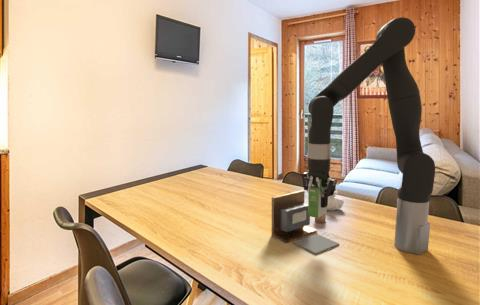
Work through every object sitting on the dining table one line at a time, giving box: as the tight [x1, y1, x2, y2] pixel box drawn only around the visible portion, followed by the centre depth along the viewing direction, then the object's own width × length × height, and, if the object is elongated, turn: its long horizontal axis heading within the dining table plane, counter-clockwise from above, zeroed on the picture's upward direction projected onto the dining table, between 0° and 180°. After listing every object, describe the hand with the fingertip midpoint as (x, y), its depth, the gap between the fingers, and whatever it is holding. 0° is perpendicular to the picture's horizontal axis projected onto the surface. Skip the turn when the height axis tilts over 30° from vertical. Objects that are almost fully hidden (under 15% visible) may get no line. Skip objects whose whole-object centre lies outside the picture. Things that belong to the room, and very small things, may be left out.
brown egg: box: [314, 213, 327, 224], centre depth 127 cm, size 4×4×5 cm
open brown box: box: [271, 189, 318, 244], centre depth 114 cm, size 8×16×15 cm, turn 124°
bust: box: [327, 190, 345, 212], centre depth 140 cm, size 12×8×11 cm
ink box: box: [307, 179, 328, 219], centre depth 103 cm, size 7×4×13 cm, turn 140°
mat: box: [293, 233, 340, 256], centre depth 106 cm, size 10×12×1 cm
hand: (317, 204), depth 104 cm, fingers closed on ink box, 4 cm apart
